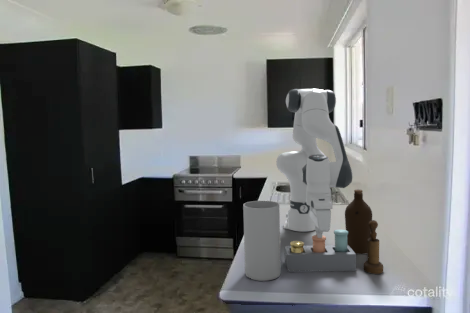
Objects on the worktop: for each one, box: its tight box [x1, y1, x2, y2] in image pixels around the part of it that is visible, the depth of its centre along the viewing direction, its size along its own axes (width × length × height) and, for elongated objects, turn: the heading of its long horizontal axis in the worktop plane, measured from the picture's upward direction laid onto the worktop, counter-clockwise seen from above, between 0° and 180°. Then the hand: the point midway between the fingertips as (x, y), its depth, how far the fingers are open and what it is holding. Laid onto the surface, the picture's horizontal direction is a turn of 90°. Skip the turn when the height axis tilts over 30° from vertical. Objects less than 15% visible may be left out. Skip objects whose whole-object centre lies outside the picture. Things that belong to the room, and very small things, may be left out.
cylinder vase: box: [242, 200, 282, 282], centre depth 129 cm, size 12×12×25 cm
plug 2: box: [311, 234, 327, 253], centre depth 135 cm, size 5×5×8 cm
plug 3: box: [333, 229, 348, 252], centre depth 135 cm, size 5×5×8 cm
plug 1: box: [289, 240, 305, 253], centre depth 136 cm, size 5×5×8 cm
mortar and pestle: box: [362, 219, 384, 275], centre depth 129 cm, size 7×6×18 cm
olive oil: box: [344, 189, 373, 255], centre depth 150 cm, size 11×11×25 cm
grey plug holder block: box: [284, 244, 357, 272], centre depth 136 cm, size 10×24×6 cm, turn 88°
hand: (319, 237), depth 135 cm, fingers closed, pressing on plug 2
